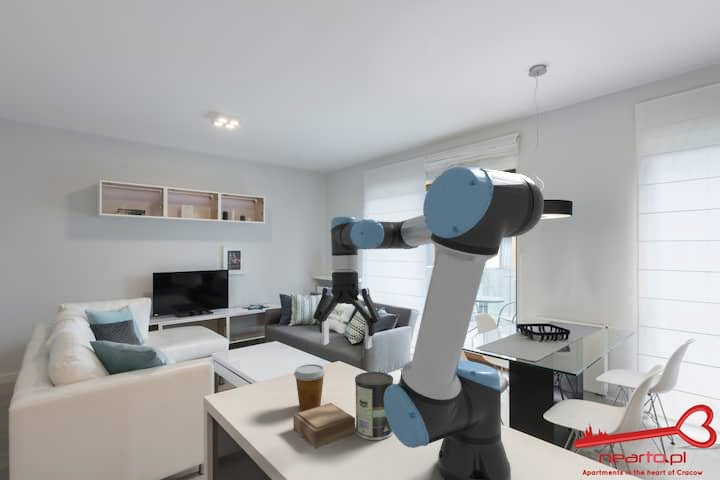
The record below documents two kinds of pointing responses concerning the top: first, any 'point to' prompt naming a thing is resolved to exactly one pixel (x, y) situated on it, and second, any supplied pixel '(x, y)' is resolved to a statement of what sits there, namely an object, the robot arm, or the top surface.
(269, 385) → the top surface
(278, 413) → the top surface
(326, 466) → the top surface
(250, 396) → the top surface
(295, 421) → the stand
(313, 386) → the disposable coffee cup
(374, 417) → the coffee can
